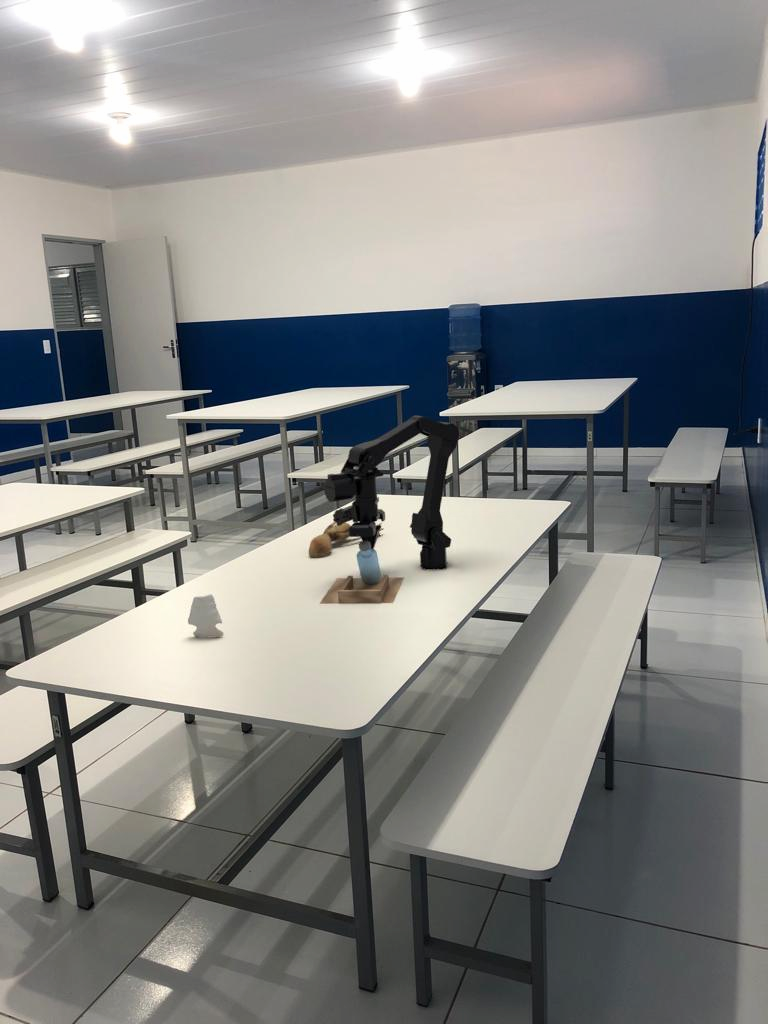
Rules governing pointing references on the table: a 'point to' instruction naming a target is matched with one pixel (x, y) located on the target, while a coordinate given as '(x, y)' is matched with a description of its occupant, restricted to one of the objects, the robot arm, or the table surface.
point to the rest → (362, 591)
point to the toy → (329, 539)
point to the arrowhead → (205, 616)
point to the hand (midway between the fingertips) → (369, 555)
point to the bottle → (368, 564)
